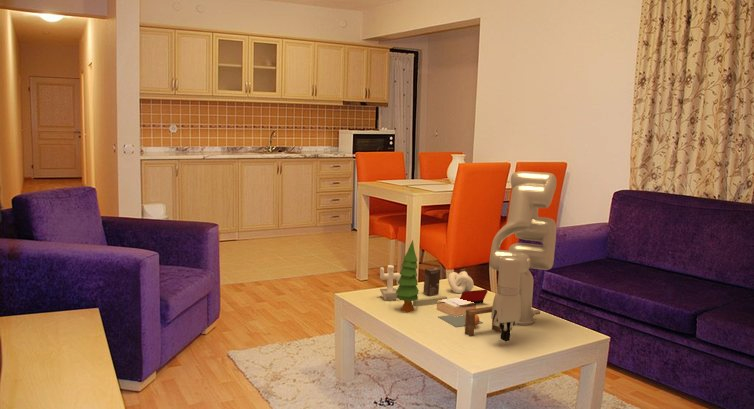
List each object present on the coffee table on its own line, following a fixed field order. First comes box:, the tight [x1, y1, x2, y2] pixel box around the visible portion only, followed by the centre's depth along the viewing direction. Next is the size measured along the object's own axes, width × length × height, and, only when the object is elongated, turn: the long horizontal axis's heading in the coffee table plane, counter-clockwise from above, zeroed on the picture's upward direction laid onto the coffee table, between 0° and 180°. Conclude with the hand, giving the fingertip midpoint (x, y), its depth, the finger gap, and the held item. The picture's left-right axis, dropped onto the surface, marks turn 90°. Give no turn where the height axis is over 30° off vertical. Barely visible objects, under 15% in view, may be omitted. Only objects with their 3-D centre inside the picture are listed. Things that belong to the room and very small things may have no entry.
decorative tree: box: [396, 239, 419, 313], centre depth 250 cm, size 10×9×30 cm
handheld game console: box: [459, 289, 488, 305], centre depth 265 cm, size 12×11×7 cm
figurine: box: [379, 264, 401, 301], centre depth 267 cm, size 7×9×15 cm
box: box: [422, 267, 441, 297], centre depth 275 cm, size 6×4×12 cm
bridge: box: [464, 305, 501, 337], centre depth 228 cm, size 3×14×9 cm, turn 117°
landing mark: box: [437, 314, 484, 328], centre depth 242 cm, size 13×13×1 cm
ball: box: [465, 314, 480, 328], centre depth 234 cm, size 6×6×6 cm
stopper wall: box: [412, 295, 448, 308], centre depth 262 cm, size 16×2×2 cm, turn 117°
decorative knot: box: [447, 270, 475, 294], centre depth 282 cm, size 11×12×9 cm
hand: (505, 340), depth 217 cm, fingers closed
